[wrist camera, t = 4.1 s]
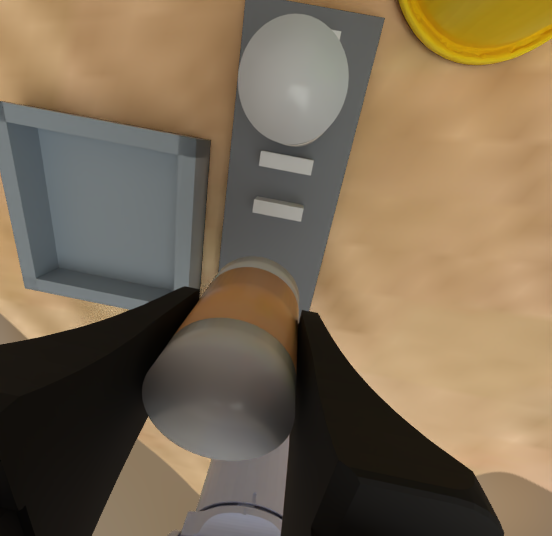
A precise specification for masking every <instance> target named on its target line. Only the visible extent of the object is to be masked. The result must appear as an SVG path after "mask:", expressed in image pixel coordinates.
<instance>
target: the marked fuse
mask: <svg viewBox="0 0 552 536" xmlns="http://www.w3.org/2000/svg"><path fill="white" fill-rule="evenodd" d="M298 321H299V291H298V287H297V284H296V282H295V280H294V279H293V277H292V276H291V274H290V273H289V272H288V271H287V270H286V269H285V268H284V267H282V266H281V265H280V264H278V263H276V262H274V261H272V260H270V259H267V258H263V257H257V256H249V257H242V258H238V259H236V260H233V261H231V262H230V263H228V264H227V265H225V266H224V267H223V268H222V269H221V270H220V271H219V273H218V274H217V276H216V277H215V278H214V280H213V281H212V283H211V284H210V285H209V287H208V288H207V290H206V291H205V292H204V294H203V295H202V297H201V298H200V299H199V301H198V302H197V304H196V305H195V306H194V308H193V309H192V311H191V312H190V313H189V315H188V316H187V318H186V319H185V320H184V322H183V323H182V325H181V326H180V327H179V329H178V330H177V332H176V333H175V334H174V336H173V337H172V339H171V340H170V341H169V343H168V344H167V346H166V347H165V348H164V350H163V351H162V353H161V354H160V355H159V357H158V358H157V360H156V361H155V362H154V364H153V365H152V367H151V368H150V369H149V371H148V372H147V374H146V376H145V378H144V382H143V386H142V399H143V404H144V407H145V410H146V412H147V414H148V416H149V418H150V419H151V421H152V423H153V424H154V425H155V426H156V428H157V429H158V430H159V431H160V432H161V433H162V434H163V435H164V436H166V437H167V438H168V439H169V440H171V441H172V442H174V443H175V444H176V445H178V446H180V447H182V448H184V449H185V450H188V451H190V452H192V453H195V454H197V455H200V456H203V457H207V458H211V459H217V460H226V461H240V460H248V459H253V458H257V457H260V456H263V455H265V454H268V453H270V452H271V451H273V450H275V449H276V448H278V447H279V446H280V445H281V444H282V443H283V442H284V441H285V440H286V439H287V437H288V436H289V434H290V432H291V430H292V428H293V425H294V419H295V398H296V372H297V346H298Z"/></svg>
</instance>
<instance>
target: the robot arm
mask: <svg viewBox="0 0 552 536" xmlns="http://www.w3.org/2000/svg"><path fill="white" fill-rule="evenodd" d="M199 293H200V289H196V288H191V287H186V286H184V287H181V288H179V289H176V290H174V291H172V292H170V293H168V294H166V295H163V296H161V297H159V298H157V299H155V300H152V301H150V302H148V303H146V304H144V305H141V306H139V307H136V308H134V309H131V310H129V311H126V312H124V313H121V314H119V315H116V316H114V317H111V318H108V319H105V320H102V321H99V322H96V323H92V324H89V325H86V326H83V327H79V328H75V329H71V330H67V331H63V332H59V333H55V334H51V335H47V336H43V337H39V338H34V339H29V340H24V341H19V342H13V343H7V344H2V345H0V536H92V534H93V531H94V529H95V527H96V525H97V523H98V520H99V518H100V516H101V514H102V511H103V509H104V507H105V505H106V503H107V500H108V498H109V496H110V494H111V492H112V490H113V487H114V485H115V483H116V481H117V479H118V477H119V474H120V472H121V470H122V468H123V466H124V464H125V462H126V460H127V458H128V456H129V454H130V452H131V449H132V448H133V445H134V443H135V441H136V439H137V437H138V435H139V433H140V431H141V429H142V428H143V426H144V424H145V422H146V420H147V418H148V414H147V412H146V410H145V407H144V404H143V399H142V386H143V382H144V378H145V376H146V374H147V372H148V371H149V369H150V368H151V367H152V365H153V364H154V362H155V361H156V360H157V358H158V357H159V355H160V354H161V353H162V351H163V350H164V348H165V347H166V346H167V344H168V343H169V341H170V340H171V339H172V337H173V336H174V334H175V333H176V332H177V330H178V329H179V327H180V326H181V325H182V323H183V322H184V320H185V319H186V318H187V316H188V315H189V313H190V312H191V311H192V309H193V308H194V306H195V305H196V304H197V302H198V301H199ZM167 536H504V531H503V529H502V526H501V524H500V521H499V520H498V518H497V516H496V514H495V512H494V510H493V508H492V506H491V504H490V502H489V500H488V498H487V496H486V495H485V493H484V491H483V489H482V488H481V485H480V483H479V482H478V480H477V478H476V476H475V475H474V473H473V471H471V470H470V469H468V468H467V467H466V466H464V465H463V464H462V463H460V462H459V461H457V460H456V459H455V458H453V457H452V456H451V455H449V454H448V453H446V452H445V451H444V450H442V449H441V448H439V447H438V446H437V445H435V444H434V443H433V442H431V441H430V440H429V439H427V438H426V437H425V436H424V435H423V434H421V433H420V432H419V431H418V430H416V429H415V428H414V427H413V426H411V425H410V424H409V423H408V422H407V421H406V420H404V419H403V418H402V417H401V416H400V415H399V414H398V413H396V412H395V411H394V410H393V409H392V408H391V407H390V406H389V405H388V404H387V403H386V402H385V401H384V400H383V399H382V398H380V397H379V396H378V395H377V394H376V393H375V392H374V390H373V389H372V388H371V387H370V386H369V385H368V384H367V383H366V382H365V381H364V380H363V378H362V377H361V376H360V375H359V374H358V373H357V372H356V370H355V369H354V368H353V367H352V365H351V364H350V363H349V362H348V360H347V359H346V358H345V356H344V355H343V354H342V352H341V351H340V349H339V348H338V346H337V345H336V343H335V342H334V340H333V338H332V337H331V335H330V334H329V332H328V330H327V328H326V327H325V325H324V323H323V321H322V320H321V318H320V316H319V315H318V313H315V312H310V311H305V310H302V312H301V316H300V320H299V324H298V346H297V372H296V398H295V419H294V425H293V428H292V430H291V432H290V434H289V436H288V437H287V439H286V440H285V441H284V442H283V443H282V444H281V445H280V446H279V447H278V448H276V449H275V450H273V451H271V452H270V453H268V454H265V455H263V456H260V457H257V458H253V459H248V460H240V461H226V460H217V459H211V463H210V466H209V469H208V472H207V476H206V479H205V482H204V486H203V489H202V492H201V495H200V499H199V502H198V506H197V509H196V512H195V511H189V512H188V513H187V516H186V519H185V523H184V526H183V529H182V531H180V530H173V531H171V532H170V533H169V534H168V535H167Z"/></svg>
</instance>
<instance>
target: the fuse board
mask: <svg viewBox="0 0 552 536" xmlns="http://www.w3.org/2000/svg"><path fill="white" fill-rule="evenodd" d="M287 14H305V15H308V16H312V17H314V18H316V19H319V20H320V21H322V22H323V23H325V24H326V25H327V26H328V27H329V28H330V29H331V30H332V31H333V32H334V33H335V35H336V36H337V37H338V39H339V41H340V42H341V44H342V47H343V49H344V51H345V55H346V58H347V63H348V72H349V81H348V89H347V94H346V98H345V101H344V104H343V106H342V109H341V111H340V112H339V114H338V116H337V118H336V119H335V120H334V122H333V123H332V124H331V125H330V126H329V128H328V129H327V130H326V131H325V132H324V133H323V134H322V135H321V136H320V137H319V138H318V139H317V140H315V141H314V142H312V143H310V144H308V145H305V146H301V147H291V146H287V145H284V144H281V143H278V142H275V141H273V140H270V139H269V138H267V137H265V136H264V135H262V134H261V133H260V132H259V131H258V130H257V129H256V128H255V127H254V126H253V125H252V124H251V122H250V121H249V119H248V118H247V116H246V114H245V112H244V110H243V107H242V104H241V101H240V97H239V91H238V81H237V91H236V101H235V111H234V121H233V131H232V141H231V151H230V161H229V171H228V181H227V191H226V201H225V211H224V221H223V231H222V241H221V251H220V261H219V271H220V270H221V269H222V268H223V267H224V266H225V265H227V264H228V263H230V262H231V261H233V260H236V259H238V258H242V257H249V256H257V257H263V258H267V259H270V260H272V261H274V262H276V263H278V264H280V265H281V266H282V267H284V268H285V269H286V270H287V271H288V272H289V273H290V274H291V276H292V277H293V279H294V280H295V282H296V284H297V287H298V291H299V320H300V316H301V312H302V310H305V311H309V309H310V305H311V301H312V298H313V294H314V290H315V286H316V282H317V278H318V274H319V271H320V267H321V263H322V259H323V255H324V251H325V247H326V244H327V240H328V236H329V232H330V228H331V224H332V220H333V217H334V213H335V209H336V205H337V201H338V197H339V193H340V189H341V186H342V182H343V178H344V174H345V170H346V166H347V162H348V159H349V155H350V151H351V147H352V143H353V139H354V135H355V132H356V128H357V124H358V120H359V116H360V112H361V108H362V105H363V101H364V97H365V93H366V89H367V85H368V81H369V78H370V74H371V70H372V66H373V62H374V58H375V54H376V50H377V47H378V43H379V39H380V35H381V31H382V27H383V23H384V20H385V18H382V17H376V16H370V15H365V14H359V13H354V12H348V11H342V10H337V9H331V8H326V7H320V6H314V5H309V4H303V3H298V2H292V1H286V0H245V10H244V20H243V30H242V40H241V50H240V60H239V66H240V62H241V59H242V56H243V53H244V51H245V48H246V47H247V45H248V43H249V41H250V40H251V38H252V37H253V36H254V34H255V33H256V32H257V31H258V30H259V29H260V28H261V27H262V26H264V25H265V24H266V23H268V22H269V21H271V20H272V19H275V18H277V17H279V16H283V15H287ZM238 73H239V71H238ZM219 271H218V273H219ZM298 324H299V321H298Z"/></svg>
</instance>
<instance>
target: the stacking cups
mask: <svg viewBox="0 0 552 536" xmlns="http://www.w3.org/2000/svg"><path fill="white" fill-rule="evenodd" d="M398 1H399V4H400V7H401V10H402V12H403V14H404V16H405V19H406V21H407V22H408V24H409V26H410V27H411V29H412V30H413V32H414V34H415V35H416V36H417V38H418V39H419V40H420V41H421V42H422V43H423V44H424V45H425V46H426V47H428V48H429V49H430V50H432V51H433V52H435V53H436V54H438V55H440V56H442V57H443V58H445V59H448V60H451V61H454V62H457V63H462V64H467V65H485V64H494V63H498V62H502V61H506V60H510V59H513V58H515V57H518V56H521V55H523V54H525V53H527V52H529V51H531V50H533V49H535V48H537V47H539V46H540V45H542V44H544V43H545V42H547V41H548V40H550V39H552V0H398Z"/></svg>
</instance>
